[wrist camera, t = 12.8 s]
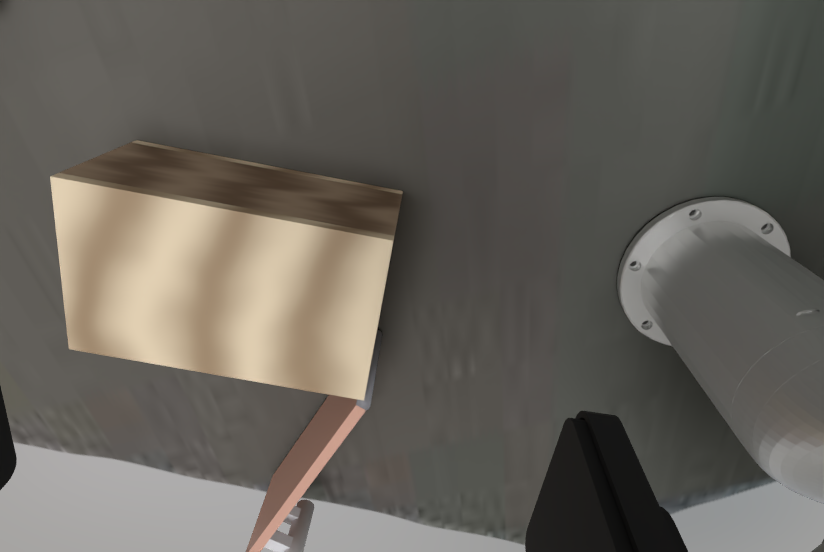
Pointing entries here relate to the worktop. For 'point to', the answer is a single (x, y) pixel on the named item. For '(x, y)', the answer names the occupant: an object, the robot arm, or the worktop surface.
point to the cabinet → (224, 266)
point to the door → (307, 469)
